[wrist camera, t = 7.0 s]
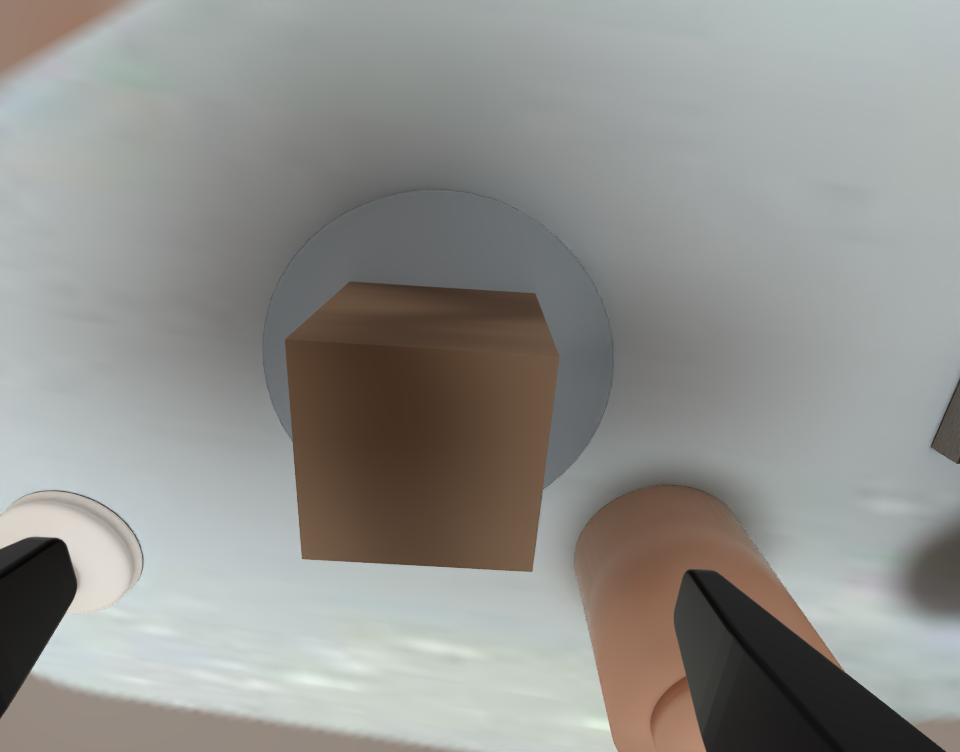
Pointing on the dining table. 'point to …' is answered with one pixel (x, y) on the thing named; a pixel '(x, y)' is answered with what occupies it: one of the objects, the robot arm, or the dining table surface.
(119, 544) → the chess piece
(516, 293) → the walnut block
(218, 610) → the dining table surface
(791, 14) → the dining table surface
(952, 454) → the balance
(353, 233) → the disc
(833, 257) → the dining table surface
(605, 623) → the terracotta lidded jar
